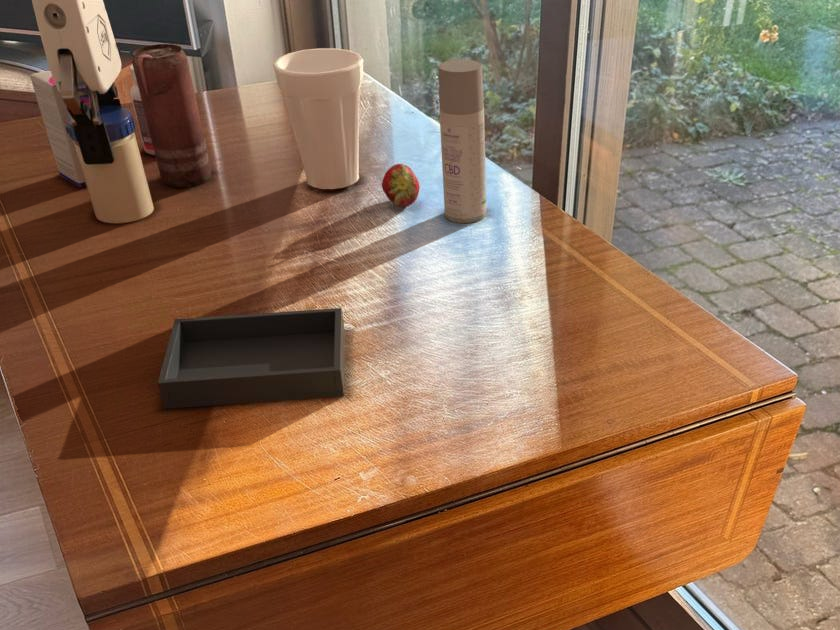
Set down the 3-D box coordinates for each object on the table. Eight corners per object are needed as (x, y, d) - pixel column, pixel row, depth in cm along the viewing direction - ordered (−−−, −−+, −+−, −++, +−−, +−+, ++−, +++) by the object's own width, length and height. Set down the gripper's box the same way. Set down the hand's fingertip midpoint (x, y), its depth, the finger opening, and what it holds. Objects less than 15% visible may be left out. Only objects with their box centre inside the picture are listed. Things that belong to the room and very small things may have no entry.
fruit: (417, 193, 115) (414, 148, 111) (423, 213, 111) (420, 167, 107) (381, 196, 115) (377, 151, 111) (386, 216, 110) (382, 170, 107)
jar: (90, 225, 111) (63, 136, 104) (101, 202, 115) (75, 116, 109) (149, 221, 111) (126, 133, 104) (157, 199, 116) (135, 112, 109)
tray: (165, 409, 83) (157, 383, 81) (181, 344, 91) (174, 318, 89) (344, 396, 84) (340, 370, 82) (345, 332, 92) (341, 307, 90)
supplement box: (81, 189, 119) (49, 84, 110) (59, 176, 122) (26, 73, 114) (124, 176, 121) (96, 72, 113) (102, 163, 124) (73, 62, 116)
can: (151, 186, 118) (117, 56, 109) (178, 167, 123) (148, 40, 113) (195, 191, 117) (165, 59, 107) (221, 172, 121) (194, 43, 111)
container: (441, 222, 109) (433, 72, 98) (448, 205, 112) (441, 58, 101) (483, 223, 108) (479, 72, 98) (489, 207, 112) (486, 58, 101)
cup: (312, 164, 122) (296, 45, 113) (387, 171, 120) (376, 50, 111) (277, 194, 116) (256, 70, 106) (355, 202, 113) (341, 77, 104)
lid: (79, 123, 110) (74, 106, 108) (141, 120, 110) (137, 104, 108) (62, 145, 105) (57, 128, 104) (127, 142, 105) (122, 125, 104)
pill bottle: (193, 150, 127) (174, 66, 120) (153, 160, 125) (132, 74, 118) (177, 139, 130) (157, 56, 123) (138, 148, 128) (116, 64, 121)
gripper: (71, -24, 90) (126, 178, 102) (110, -62, 102) (155, 122, 115) (-12, -20, 90) (54, 182, 102) (38, -59, 102) (91, 125, 115)
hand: (107, 149), depth 108 cm, fingers closed on lid, 6 cm apart
